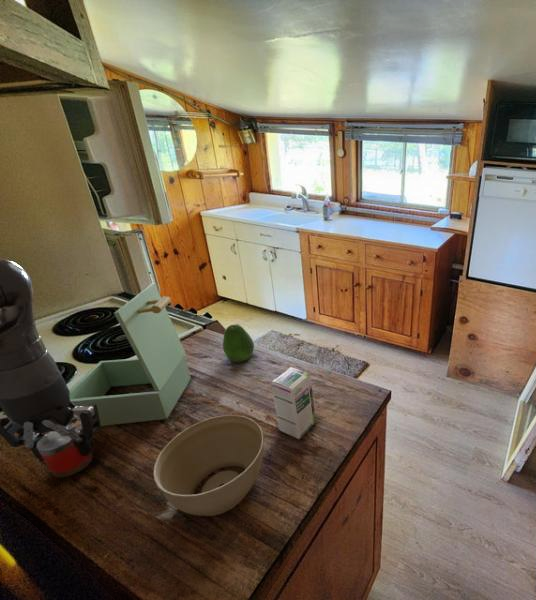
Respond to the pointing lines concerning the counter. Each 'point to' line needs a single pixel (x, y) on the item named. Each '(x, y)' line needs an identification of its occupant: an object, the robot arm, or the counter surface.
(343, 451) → the counter surface
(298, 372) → the syrup box
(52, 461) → the can
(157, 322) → the lid
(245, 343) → the avocado
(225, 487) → the planter bowl
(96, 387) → the chest
